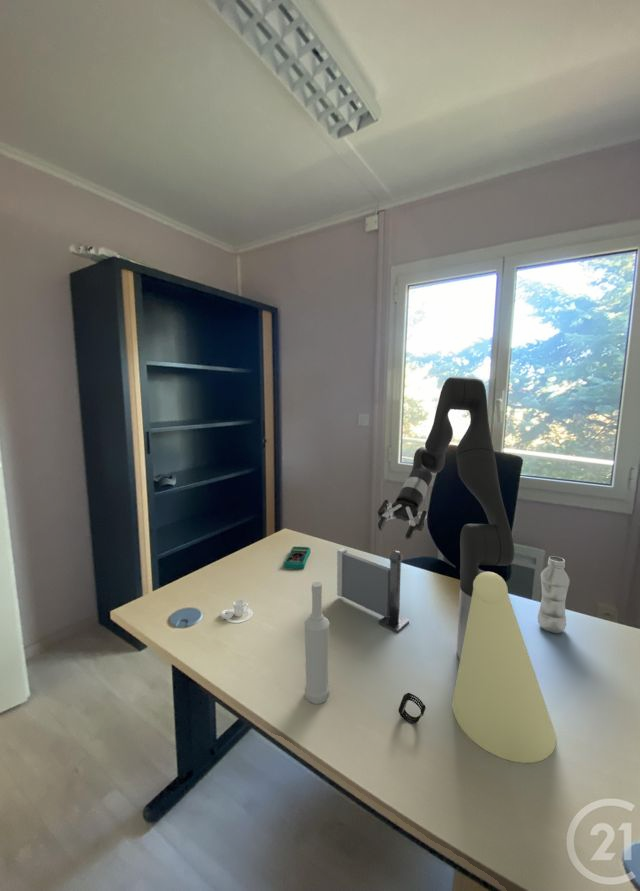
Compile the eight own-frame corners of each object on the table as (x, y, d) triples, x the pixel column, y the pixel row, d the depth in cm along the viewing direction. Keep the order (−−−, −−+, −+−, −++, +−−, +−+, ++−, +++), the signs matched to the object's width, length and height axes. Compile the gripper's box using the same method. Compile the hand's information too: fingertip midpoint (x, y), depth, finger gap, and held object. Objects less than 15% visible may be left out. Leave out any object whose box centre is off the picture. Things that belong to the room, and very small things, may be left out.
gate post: (409, 623, 103) (411, 550, 100) (397, 633, 99) (399, 557, 96) (390, 614, 107) (392, 544, 104) (378, 623, 103) (380, 550, 100)
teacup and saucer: (217, 621, 104) (216, 608, 104) (230, 606, 112) (229, 593, 112) (245, 626, 102) (245, 612, 102) (257, 610, 110) (256, 597, 109)
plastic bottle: (571, 636, 97) (578, 564, 94) (545, 636, 97) (551, 564, 94) (556, 621, 103) (562, 553, 101) (531, 621, 103) (537, 553, 101)
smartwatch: (407, 707, 75) (407, 684, 75) (427, 724, 71) (428, 701, 70) (393, 717, 73) (393, 694, 72) (414, 736, 69) (414, 712, 68)
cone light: (472, 669, 86) (480, 524, 81) (565, 714, 73) (581, 546, 69) (421, 741, 68) (428, 560, 63) (533, 818, 55) (552, 600, 51)
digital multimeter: (283, 570, 136) (283, 562, 135) (292, 552, 151) (292, 545, 150) (303, 571, 134) (303, 563, 134) (310, 553, 150) (310, 546, 149)
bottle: (315, 681, 82) (315, 575, 79) (334, 693, 79) (334, 583, 75) (300, 696, 78) (298, 585, 75) (318, 709, 75) (318, 593, 71)
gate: (390, 614, 105) (392, 565, 103) (386, 618, 103) (387, 568, 101) (342, 592, 117) (342, 547, 115) (337, 595, 115) (337, 550, 113)
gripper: (390, 481, 120) (369, 518, 111) (434, 492, 113) (415, 533, 104) (392, 495, 125) (373, 533, 116) (434, 507, 118) (417, 548, 109)
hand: (393, 533), depth 110 cm, fingers open, 8 cm apart
